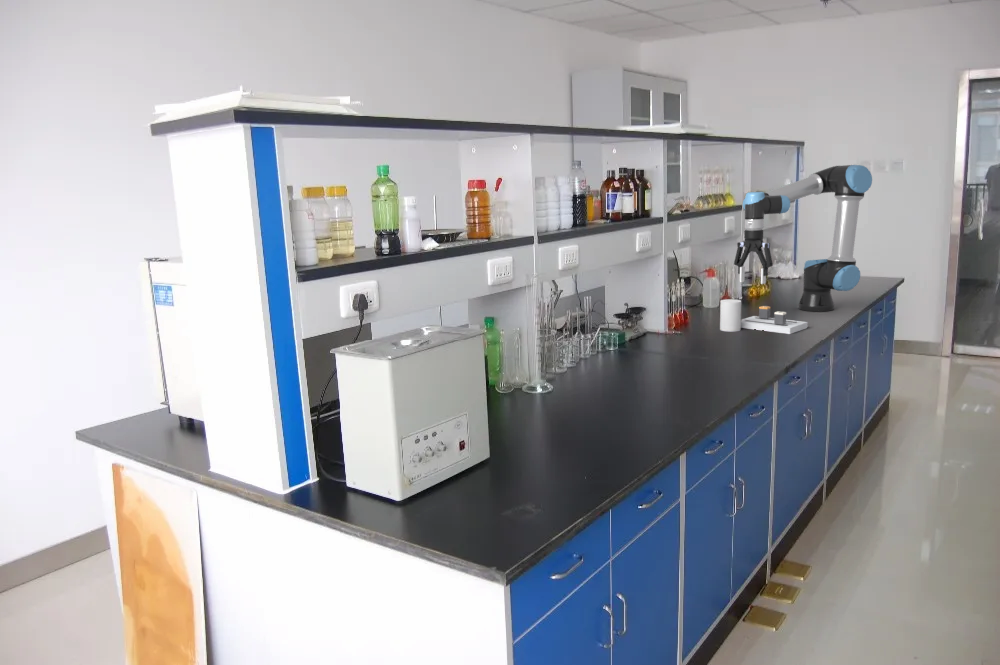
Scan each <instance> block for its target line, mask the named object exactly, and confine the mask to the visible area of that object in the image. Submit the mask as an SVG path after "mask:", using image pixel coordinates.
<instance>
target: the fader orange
mask: <svg viewBox="0 0 1000 665" xmlns="http://www.w3.org/2000/svg"><path fill="white" fill-rule="evenodd" d="M758 317H759V318H764V319H768V318H771V306H768V305H762V306H759V307H758Z"/></svg>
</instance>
